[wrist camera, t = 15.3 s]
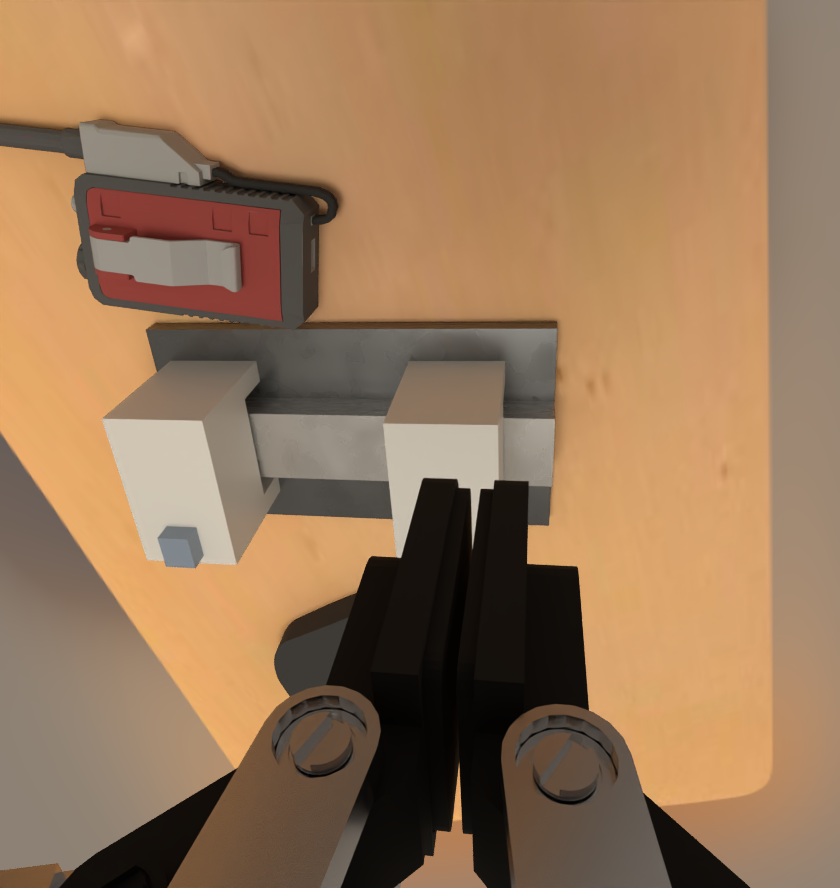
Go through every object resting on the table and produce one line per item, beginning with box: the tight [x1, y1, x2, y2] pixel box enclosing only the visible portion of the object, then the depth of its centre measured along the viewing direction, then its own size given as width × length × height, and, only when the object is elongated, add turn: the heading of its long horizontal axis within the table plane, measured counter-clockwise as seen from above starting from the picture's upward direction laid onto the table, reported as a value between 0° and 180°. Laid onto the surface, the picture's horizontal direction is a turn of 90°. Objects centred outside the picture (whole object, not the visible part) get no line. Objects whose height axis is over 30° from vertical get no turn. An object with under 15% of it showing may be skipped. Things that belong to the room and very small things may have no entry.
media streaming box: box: [274, 593, 357, 696], centre depth 48 cm, size 15×15×3 cm
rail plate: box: [146, 322, 557, 526], centre depth 38 cm, size 12×22×3 cm, turn 93°
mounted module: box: [102, 361, 280, 568], centre depth 36 cm, size 8×5×8 cm, turn 3°
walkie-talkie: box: [0, 120, 338, 331], centre depth 34 cm, size 9×4×20 cm
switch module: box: [383, 361, 505, 558], centre depth 34 cm, size 9×5×8 cm, turn 4°
